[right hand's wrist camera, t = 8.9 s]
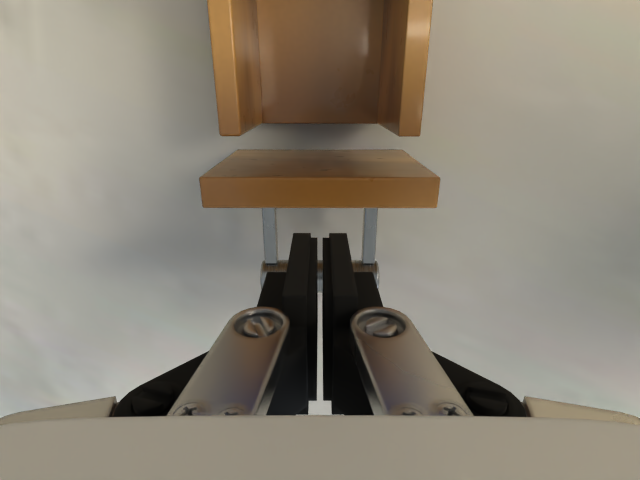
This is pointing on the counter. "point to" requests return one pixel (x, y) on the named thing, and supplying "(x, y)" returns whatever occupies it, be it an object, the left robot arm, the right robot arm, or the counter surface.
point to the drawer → (319, 108)
